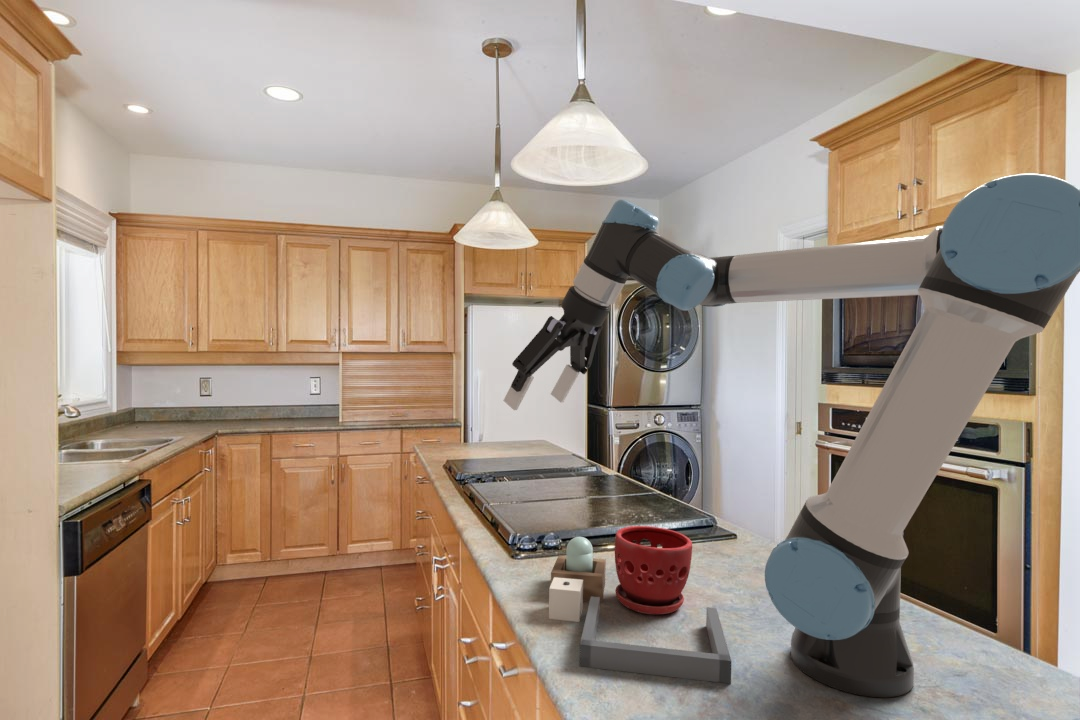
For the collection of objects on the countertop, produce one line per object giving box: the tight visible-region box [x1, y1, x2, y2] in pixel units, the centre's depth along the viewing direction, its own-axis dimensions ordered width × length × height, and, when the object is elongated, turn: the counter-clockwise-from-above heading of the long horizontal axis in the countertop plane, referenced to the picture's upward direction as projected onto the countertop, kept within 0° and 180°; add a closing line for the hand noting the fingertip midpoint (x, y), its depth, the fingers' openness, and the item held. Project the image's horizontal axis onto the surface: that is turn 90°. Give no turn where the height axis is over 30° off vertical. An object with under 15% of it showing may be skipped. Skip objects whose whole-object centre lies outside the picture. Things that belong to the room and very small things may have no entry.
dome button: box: [565, 536, 594, 573], centre depth 106 cm, size 5×5×7 cm
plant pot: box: [614, 525, 693, 615], centre depth 101 cm, size 13×13×12 cm
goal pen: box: [578, 596, 732, 685], centre depth 86 cm, size 20×16×3 cm
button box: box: [550, 555, 607, 604], centre depth 106 cm, size 9×9×4 cm
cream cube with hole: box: [548, 577, 584, 623], centre depth 97 cm, size 5×5×5 cm
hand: (534, 401), depth 101 cm, fingers open, 13 cm apart
